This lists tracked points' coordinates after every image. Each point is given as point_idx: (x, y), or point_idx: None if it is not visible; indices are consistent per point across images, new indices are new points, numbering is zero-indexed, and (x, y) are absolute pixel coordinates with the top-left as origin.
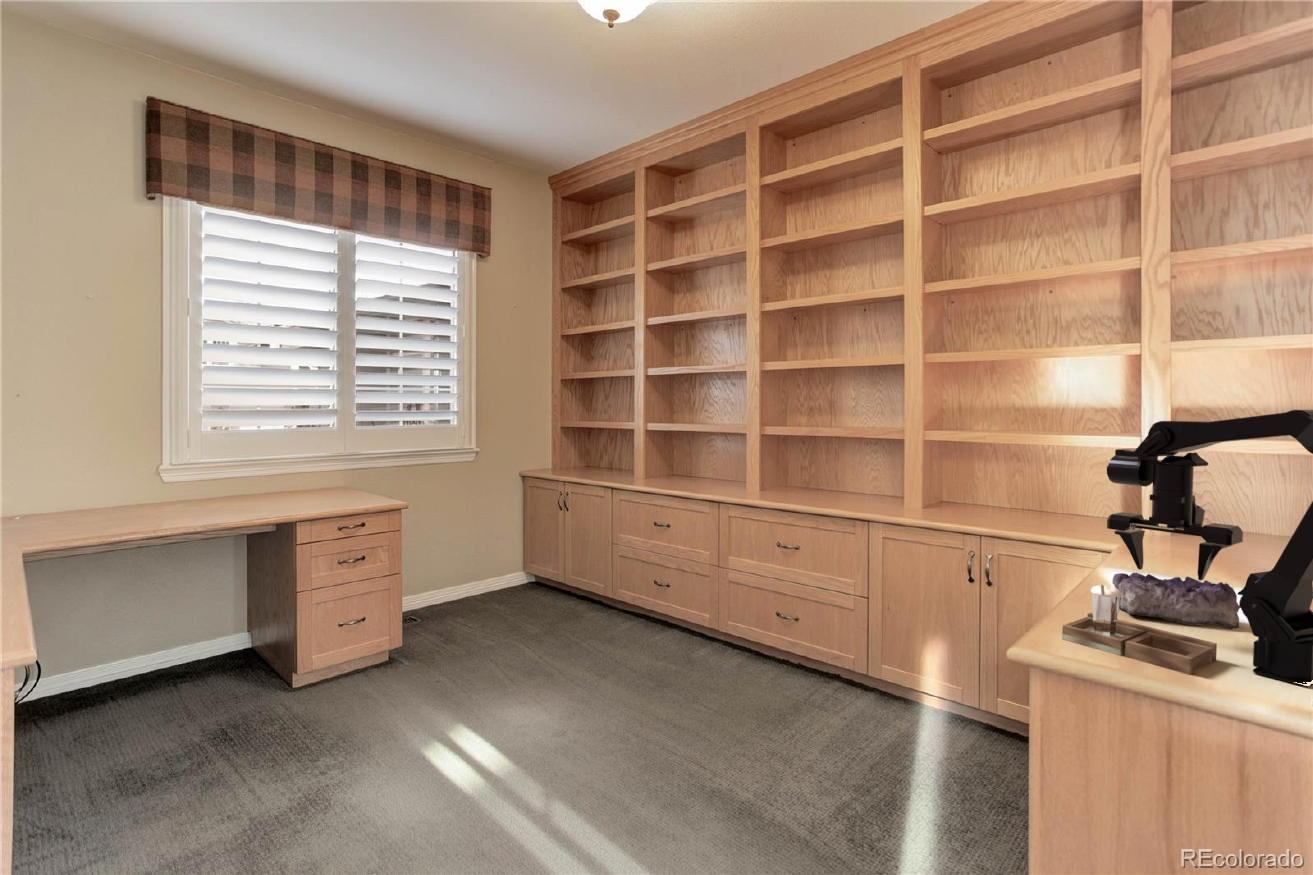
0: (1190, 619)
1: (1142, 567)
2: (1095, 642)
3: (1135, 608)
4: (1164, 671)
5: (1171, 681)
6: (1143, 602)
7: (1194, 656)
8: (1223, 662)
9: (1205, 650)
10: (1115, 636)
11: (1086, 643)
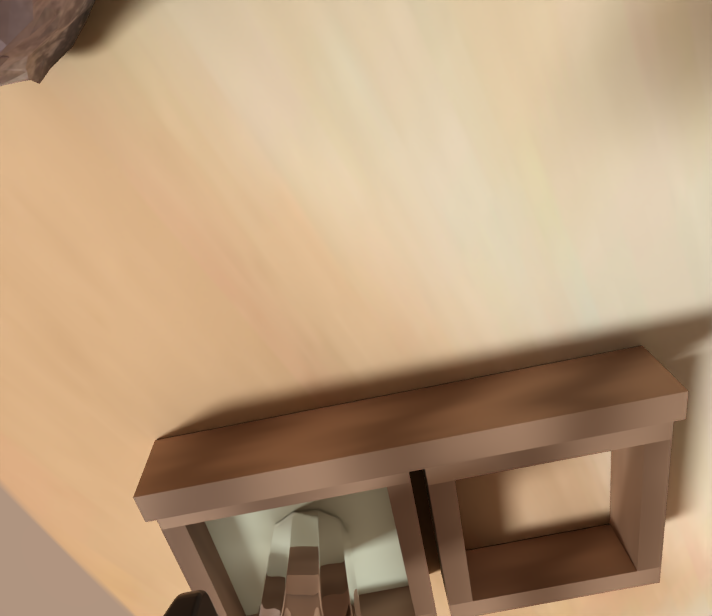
0: None
1: (204, 607)
2: None
3: (31, 67)
4: None
5: (616, 609)
6: (39, 33)
7: (660, 552)
8: (664, 332)
9: (665, 470)
10: (345, 531)
11: None
